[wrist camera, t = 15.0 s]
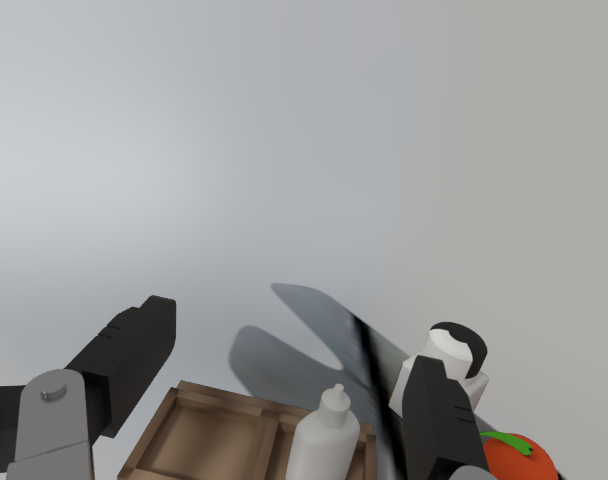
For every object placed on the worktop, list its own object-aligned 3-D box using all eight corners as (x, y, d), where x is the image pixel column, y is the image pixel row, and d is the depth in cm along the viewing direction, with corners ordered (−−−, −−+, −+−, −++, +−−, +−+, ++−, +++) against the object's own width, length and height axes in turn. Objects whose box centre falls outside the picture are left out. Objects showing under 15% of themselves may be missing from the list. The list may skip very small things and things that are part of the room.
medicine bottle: (420, 382, 52) (448, 307, 47) (469, 421, 47) (507, 343, 42) (386, 406, 48) (413, 326, 42) (437, 451, 43) (474, 369, 38)
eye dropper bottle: (288, 453, 39) (307, 361, 34) (345, 464, 39) (372, 373, 34) (281, 498, 35) (302, 401, 30) (344, 510, 35) (375, 416, 30)
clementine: (448, 491, 39) (472, 443, 36) (467, 444, 44) (489, 398, 41) (535, 551, 35) (570, 503, 32) (545, 492, 41) (575, 445, 37)
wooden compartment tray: (100, 525, 32) (98, 506, 31) (180, 386, 45) (181, 370, 44) (370, 597, 30) (378, 580, 29) (370, 431, 44) (375, 415, 43)
